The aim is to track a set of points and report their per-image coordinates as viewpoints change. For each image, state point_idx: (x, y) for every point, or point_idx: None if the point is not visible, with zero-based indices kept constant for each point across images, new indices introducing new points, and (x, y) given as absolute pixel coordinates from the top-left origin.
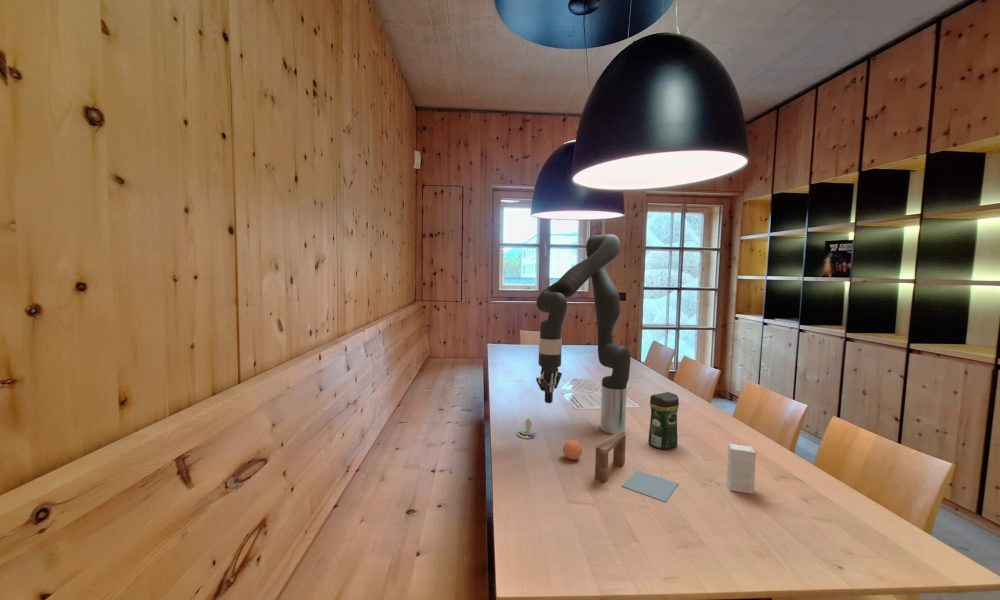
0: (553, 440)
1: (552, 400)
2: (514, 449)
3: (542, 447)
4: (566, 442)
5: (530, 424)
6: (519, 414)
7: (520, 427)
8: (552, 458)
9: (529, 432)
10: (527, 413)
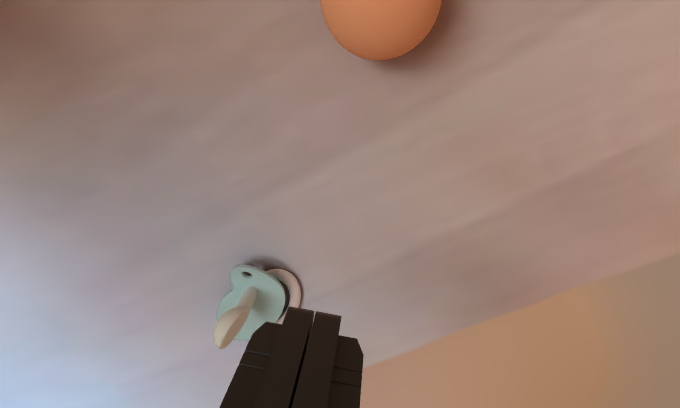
0: (232, 173)
1: (285, 317)
2: (425, 283)
3: (337, 189)
4: (394, 37)
5: (241, 314)
6: (95, 383)
7: (244, 338)
8: (430, 100)
9: (253, 291)
10: (60, 363)
